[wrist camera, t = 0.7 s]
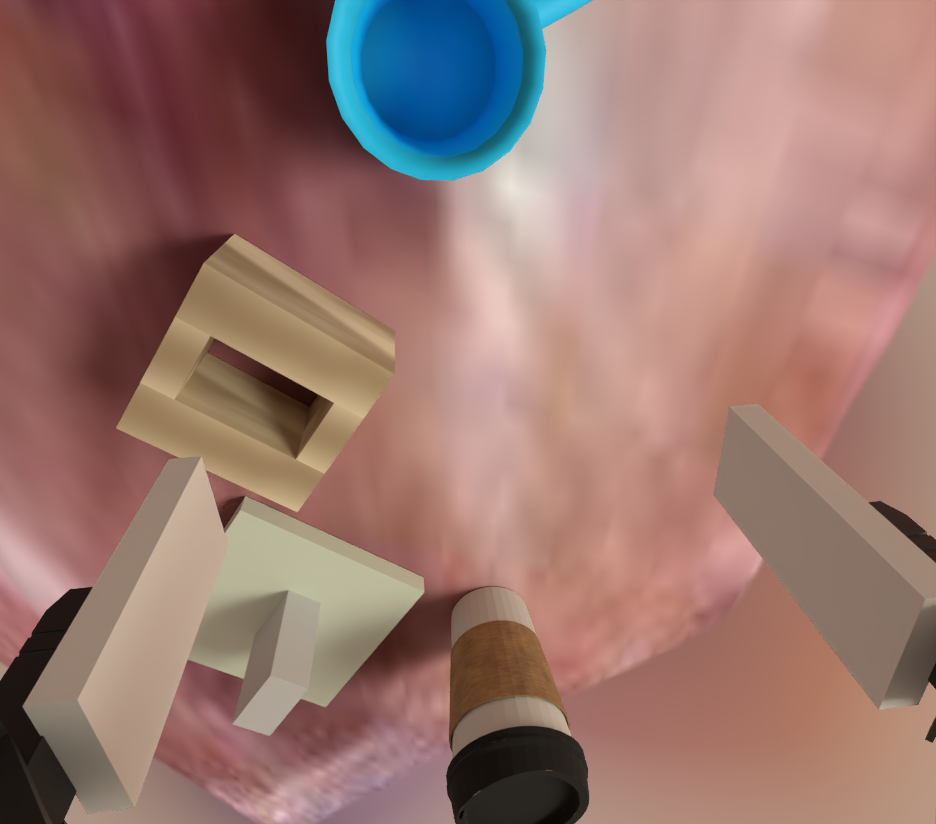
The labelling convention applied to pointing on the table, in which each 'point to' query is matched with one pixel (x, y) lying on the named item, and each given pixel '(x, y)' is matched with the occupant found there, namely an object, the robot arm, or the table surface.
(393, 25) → the mug
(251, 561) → the base
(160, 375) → the collar
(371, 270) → the table surface
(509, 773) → the coffee cup
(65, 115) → the table surface
